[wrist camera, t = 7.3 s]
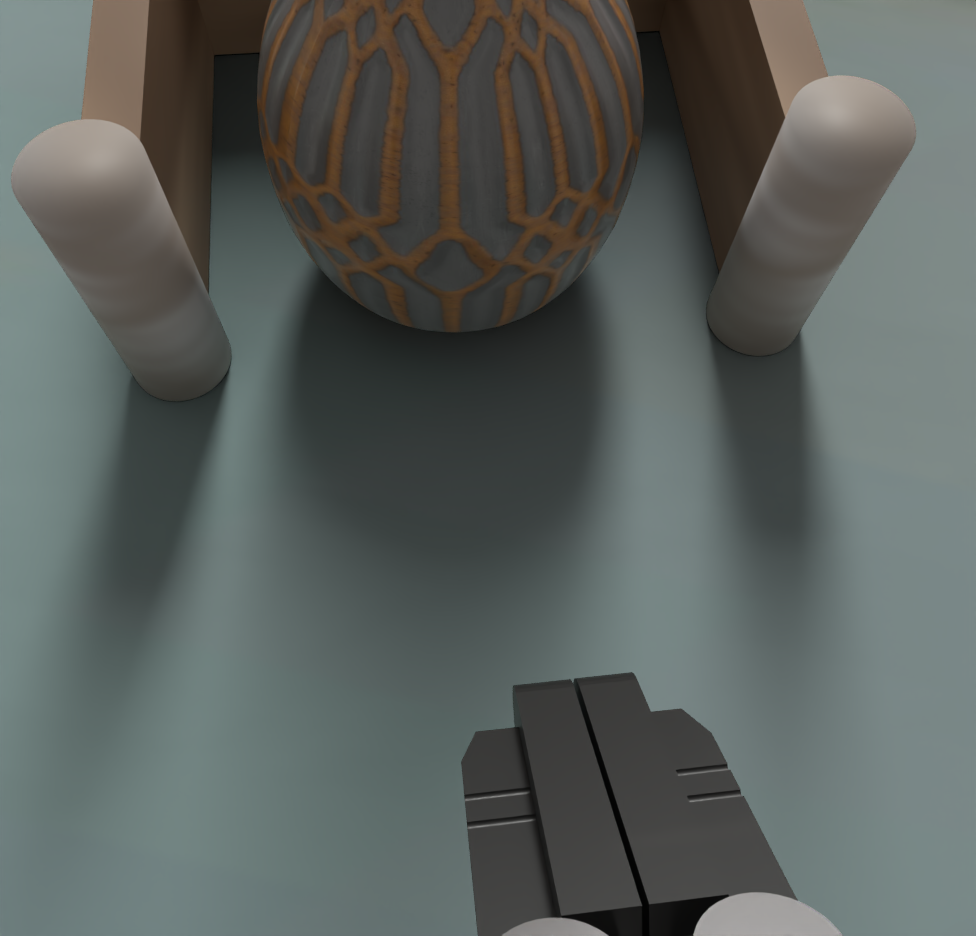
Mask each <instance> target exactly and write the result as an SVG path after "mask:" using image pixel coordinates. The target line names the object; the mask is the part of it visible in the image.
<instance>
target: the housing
mask: <svg viewBox="0 0 976 936" xmlns="http://www.w3.org/2000/svg"><path fill="white" fill-rule="evenodd" d="M627 2H628V5H629V8H630V12H631V15H632V18H633V21H634V26H635V30H636V32H646V31H660V35H661V39H662V43H663V47H664V51H665V55H666V59H667V63H668V67H669V72H670V76H671V80H672V84H673V88H674V92H675V96H676V100H677V104H678V108H679V112H680V116H681V120H682V124H683V128H684V132H685V136H686V140H687V144H688V149H689V153H690V157H691V161H692V165H693V169H694V173H695V177H696V181H697V185H698V189H699V193H700V197H701V201H702V205H703V209H704V213H705V217H706V221H707V226H708V230H709V234H710V238H711V242H712V246H713V250H714V254H715V258H716V262H717V266H718V270H719V276H718V278H717V280H716V283H715V285H714V287H713V290H712V292H711V295H710V297H709V299H708V302H707V307H706V315H707V320H708V323H709V326H710V328H711V330H712V331H713V333H714V334H715V335H716V337H717V338H718V339H719V340H720V341H721V342H722V343H724V344H725V345H726V346H728V347H729V348H731V349H733V350H735V351H737V352H740V353H743V354H747V355H752V356H766V355H771V354H775V353H778V352H780V351H782V350H784V349H785V348H787V347H788V346H789V345H790V344H791V343H792V342H793V341H794V339H795V338H796V336H797V335H798V333H799V331H800V330H801V328H802V326H803V325H804V323H805V322H806V320H807V318H808V317H809V315H810V313H811V312H812V310H813V309H814V307H815V305H816V304H817V302H818V300H819V299H820V297H821V296H822V294H823V292H824V291H825V289H826V287H827V286H828V284H829V283H830V281H831V279H832V278H833V276H834V274H835V273H836V271H837V270H838V268H839V266H840V265H841V263H842V261H843V260H844V258H845V257H846V255H847V253H848V252H849V250H850V248H851V247H852V245H853V244H854V242H855V240H856V239H857V237H858V235H859V234H860V232H861V231H862V229H863V227H864V226H865V224H866V222H867V221H868V219H869V218H870V216H871V214H872V213H873V211H874V209H875V208H876V206H877V205H878V203H879V201H880V200H881V198H882V196H883V195H884V193H885V192H886V190H887V188H888V187H889V185H890V183H891V182H892V180H893V179H894V177H895V175H896V174H897V172H898V170H899V169H900V167H901V166H902V164H903V162H904V161H905V159H906V157H907V156H908V154H909V153H910V151H911V149H912V147H913V145H914V143H915V138H916V126H915V122H914V118H913V116H912V114H911V112H910V111H909V109H908V107H907V106H906V105H905V104H904V102H903V101H902V100H901V99H900V98H899V97H898V96H897V95H895V94H894V93H893V92H891V91H890V90H888V89H887V88H885V87H884V86H881V85H879V84H877V83H875V82H873V81H870V80H867V79H863V78H859V77H854V76H829V77H828V74H827V71H826V68H825V65H824V62H823V59H822V56H821V53H820V50H819V47H818V44H817V41H816V38H815V36H814V33H813V30H812V27H811V24H810V21H809V18H808V15H807V12H806V9H805V6H804V3H803V0H627ZM270 3H271V0H93V8H92V18H91V28H90V38H89V48H88V58H87V68H86V78H85V88H84V98H83V108H82V117H81V120H75V121H70V122H66V123H62V124H59V125H57V126H54V127H52V128H50V129H48V130H46V131H44V132H42V133H41V134H39V135H38V136H36V137H35V138H34V139H32V140H31V141H30V142H29V143H28V144H27V145H26V146H25V147H24V148H23V150H22V151H21V152H20V154H19V155H18V157H17V159H16V161H15V163H14V166H13V169H12V174H11V184H12V189H13V192H14V195H15V197H16V198H17V200H18V202H19V203H20V205H21V206H22V208H23V209H24V211H25V212H26V214H27V215H28V217H29V218H30V220H31V221H32V223H33V224H34V226H35V228H36V229H37V231H38V232H39V234H40V235H41V237H42V238H43V240H44V241H45V243H46V244H47V246H48V247H49V249H50V250H51V252H52V253H53V255H54V256H55V258H56V259H57V261H58V262H59V264H60V265H61V267H62V268H63V270H64V272H65V273H66V275H67V276H68V278H69V279H70V281H71V282H72V284H73V285H74V287H75V288H76V290H77V291H78V293H79V294H80V296H81V297H82V299H83V300H84V302H85V303H86V305H87V306H88V308H89V309H90V311H91V312H92V314H93V315H94V317H95V319H96V320H97V322H98V323H99V325H100V326H101V328H102V329H103V331H104V332H105V334H106V335H107V337H108V338H109V340H110V341H111V343H112V344H113V346H114V347H115V349H116V350H117V352H118V353H119V355H120V356H121V358H122V359H123V361H124V363H125V364H126V366H127V367H128V369H129V370H130V372H131V373H132V375H133V376H134V378H135V379H136V381H137V382H138V384H139V385H140V386H141V387H142V388H143V389H144V390H145V391H146V392H147V393H149V394H150V395H152V396H154V397H156V398H159V399H162V400H167V401H185V400H190V399H194V398H197V397H199V396H201V395H204V394H206V393H207V392H209V391H210V390H212V389H213V388H214V387H215V386H217V385H218V383H219V382H220V381H221V380H222V379H223V377H224V376H225V374H226V373H227V371H228V368H229V366H230V362H231V347H230V343H229V340H228V338H227V336H226V333H225V331H224V329H223V327H222V324H221V322H220V320H219V317H218V315H217V313H216V311H215V308H214V306H213V304H212V302H211V299H210V297H209V295H208V287H209V246H210V205H211V165H212V124H213V83H214V55H222V54H241V53H259V52H260V48H261V41H262V35H263V30H264V25H265V21H266V16H267V13H268V10H269V6H270Z"/></svg>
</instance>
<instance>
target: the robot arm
mask: <svg viewBox="0 0 976 936" xmlns="http://www.w3.org/2000/svg"><path fill="white" fill-rule="evenodd" d="M513 708H514V723H515V728H506V729H497V730H488V731H479V732H476V733H475V735H474V737H473V739H472V741H471V743H470V745H469V747H468V749H467V751H466V753H465V755H464V757H463V759H462V761H461V764H462V774H463V785H464V796H465V806H466V817H467V828H468V838H469V849H470V860H471V870H472V880H473V891H474V901H475V911H476V922H477V932H478V936H843V935H842V934H841V932H840V931H839V930H838V929H837V928H836V927H835V926H834V925H833V924H832V923H831V922H830V921H829V920H828V919H827V918H826V917H824V916H823V915H822V914H820V913H819V912H818V911H816V910H814V909H813V908H811V907H809V906H807V905H806V904H804V903H801V902H799V901H798V900H797V898H796V897H795V895H794V893H793V891H792V889H791V887H790V885H789V883H788V881H787V879H786V877H785V876H784V874H783V872H782V870H781V868H780V866H779V864H778V862H777V860H776V858H775V856H774V854H773V852H772V850H771V848H770V846H769V844H768V842H767V840H766V838H765V837H764V835H763V833H762V831H761V829H760V827H759V825H758V823H757V821H756V819H755V817H754V815H753V813H752V811H751V809H750V807H749V805H748V803H747V801H746V799H745V798H744V796H741V792H740V788H739V786H738V784H737V782H736V780H735V778H734V776H733V774H732V772H731V770H728V767H727V762H726V760H725V759H724V757H723V755H722V753H721V751H720V749H719V747H718V745H717V743H716V741H715V739H714V737H713V735H712V733H711V732H710V731H708V730H707V729H706V728H705V727H703V726H702V725H701V724H700V723H698V722H697V721H696V720H695V719H693V718H692V717H691V716H690V715H689V714H687V713H686V712H685V711H684V710H682V709H673V710H664V711H655V712H651V711H650V709H649V706H648V704H647V702H646V699H645V697H644V695H643V692H642V690H641V688H640V685H639V683H638V681H637V679H636V676H635V675H634V673H632V672H630V673H621V674H612V675H603V676H594V677H585V678H576V679H574V682H573V683H572V681H571V679H569V680H559V681H550V682H541V683H532V684H523V685H514V686H513Z"/></svg>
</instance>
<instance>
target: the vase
mask: <svg viewBox="0 0 976 936" xmlns="http://www.w3.org/2000/svg"><path fill="white" fill-rule="evenodd" d="M257 108H258V121H259V132H260V137H261V142H262V147H263V151H264V156H265V160H266V164H267V167H268V171H269V174H270V177H271V180H272V183H273V186H274V189H275V192H276V195H277V197H278V200H279V202H280V204H281V207H282V209H283V212H284V214H285V216H286V219H287V221H288V223H289V225H290V227H291V228H292V230H293V232H294V233H295V235H296V236H297V238H298V239H299V241H300V243H301V244H302V246H303V247H304V249H305V250H306V252H307V253H308V255H309V256H310V257H311V259H312V260H313V261H314V262H315V263H316V264H317V266H318V267H319V268H320V269H321V270H322V271H323V272H324V273H325V274H326V276H327V277H328V278H329V279H330V280H331V281H332V282H333V283H334V284H335V285H336V286H338V287H339V288H340V289H341V290H342V291H343V292H344V293H346V294H347V295H348V296H350V297H351V298H352V299H354V300H355V301H357V302H358V303H359V304H361V305H362V306H364V307H365V308H367V309H368V310H370V311H372V312H374V313H376V314H378V315H379V316H382V317H384V318H386V319H388V320H391V321H394V322H396V323H399V324H402V325H406V326H409V327H413V328H418V329H423V330H429V331H438V332H470V331H478V330H484V329H489V328H494V327H498V326H501V325H505V324H508V323H511V322H514V321H516V320H519V319H521V318H523V317H525V316H527V315H529V314H531V313H533V312H535V311H537V310H538V309H540V308H542V307H543V306H545V305H546V304H547V303H549V302H550V301H552V300H553V299H554V298H555V297H557V296H558V295H559V294H561V293H562V292H563V291H564V290H565V289H567V288H568V287H569V286H570V285H571V284H572V283H573V282H574V281H575V280H576V279H577V278H578V277H579V276H580V275H581V273H582V272H583V271H584V270H585V269H586V267H587V266H588V265H589V264H590V263H591V261H592V260H593V259H594V258H595V256H596V255H597V254H598V252H599V251H600V249H601V248H602V246H603V244H604V243H605V241H606V239H607V238H608V236H609V235H610V233H611V231H612V229H613V227H614V226H615V224H616V222H617V219H618V217H619V215H620V212H621V210H622V207H623V205H624V202H625V199H626V197H627V194H628V191H629V188H630V185H631V181H632V178H633V174H634V171H635V167H636V163H637V158H638V154H639V148H640V143H641V138H642V130H643V115H644V88H643V74H642V65H641V57H640V49H639V44H638V40H637V35H636V30H635V26H634V21H633V18H632V15H631V12H630V8H629V5H628V2H627V0H271V3H270V6H269V10H268V13H267V16H266V21H265V25H264V30H263V35H262V41H261V48H260V56H259V65H258V81H257Z"/></svg>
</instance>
